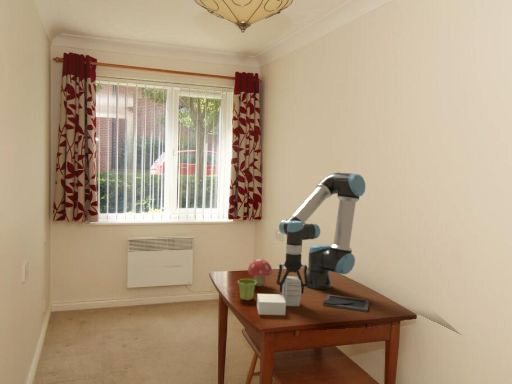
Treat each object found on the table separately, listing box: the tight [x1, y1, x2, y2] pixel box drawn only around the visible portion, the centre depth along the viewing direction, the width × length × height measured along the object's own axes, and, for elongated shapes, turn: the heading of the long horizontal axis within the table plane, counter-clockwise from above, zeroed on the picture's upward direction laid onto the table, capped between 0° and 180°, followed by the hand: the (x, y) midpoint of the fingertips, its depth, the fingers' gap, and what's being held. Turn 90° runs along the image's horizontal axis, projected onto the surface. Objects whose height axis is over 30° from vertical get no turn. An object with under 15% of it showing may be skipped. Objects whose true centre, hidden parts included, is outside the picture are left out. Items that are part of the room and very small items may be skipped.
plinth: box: [256, 293, 287, 316], centre depth 196 cm, size 12×12×6 cm
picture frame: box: [322, 293, 370, 313], centre depth 211 cm, size 16×2×21 cm
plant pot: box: [237, 278, 257, 301], centre depth 211 cm, size 9×9×9 cm
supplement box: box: [283, 275, 301, 307], centre depth 206 cm, size 7×7×13 cm
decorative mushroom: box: [247, 258, 273, 287], centre depth 232 cm, size 13×13×15 cm
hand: (291, 299), depth 207 cm, fingers closed on supplement box, 8 cm apart
